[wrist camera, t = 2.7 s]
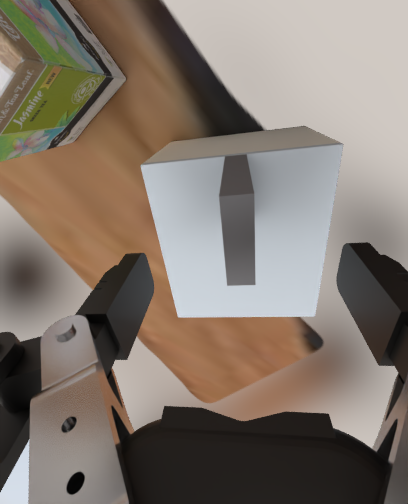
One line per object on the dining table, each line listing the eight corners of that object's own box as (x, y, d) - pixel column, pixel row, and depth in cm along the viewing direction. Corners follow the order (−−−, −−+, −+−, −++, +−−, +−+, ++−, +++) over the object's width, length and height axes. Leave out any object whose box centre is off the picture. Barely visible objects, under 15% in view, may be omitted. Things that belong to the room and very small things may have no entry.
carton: (171, 141, 27) (143, 163, 19) (304, 126, 25) (339, 142, 17) (192, 261, 36) (179, 312, 27) (293, 257, 34) (313, 311, 25)
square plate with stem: (142, 163, 19) (86, 207, 12) (340, 142, 17) (420, 180, 9) (179, 313, 27) (159, 392, 20) (313, 312, 25) (345, 400, 18)
